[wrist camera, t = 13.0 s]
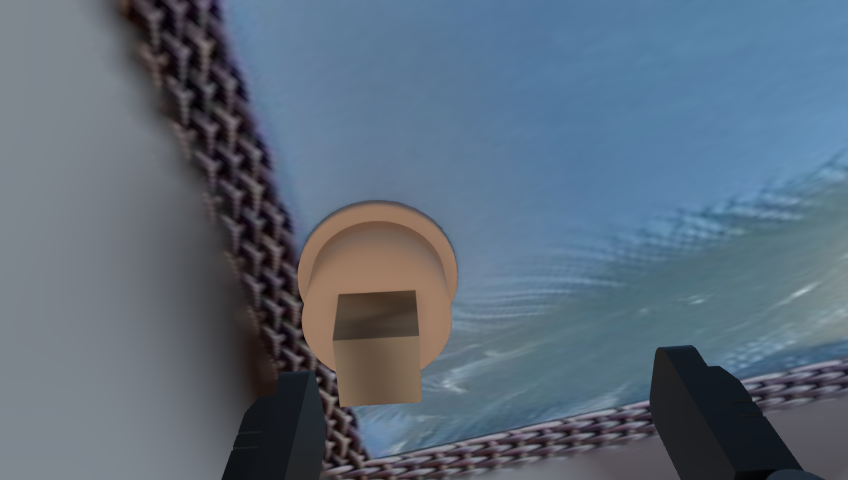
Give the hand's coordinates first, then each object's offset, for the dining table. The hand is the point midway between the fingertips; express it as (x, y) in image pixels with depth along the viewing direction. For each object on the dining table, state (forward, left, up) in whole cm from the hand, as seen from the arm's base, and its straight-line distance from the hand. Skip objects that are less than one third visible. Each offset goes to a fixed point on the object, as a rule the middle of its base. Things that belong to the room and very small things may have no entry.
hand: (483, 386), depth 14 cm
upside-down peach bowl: (+4, +14, -29) cm, 32 cm away
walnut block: (+4, +14, -22) cm, 26 cm away
